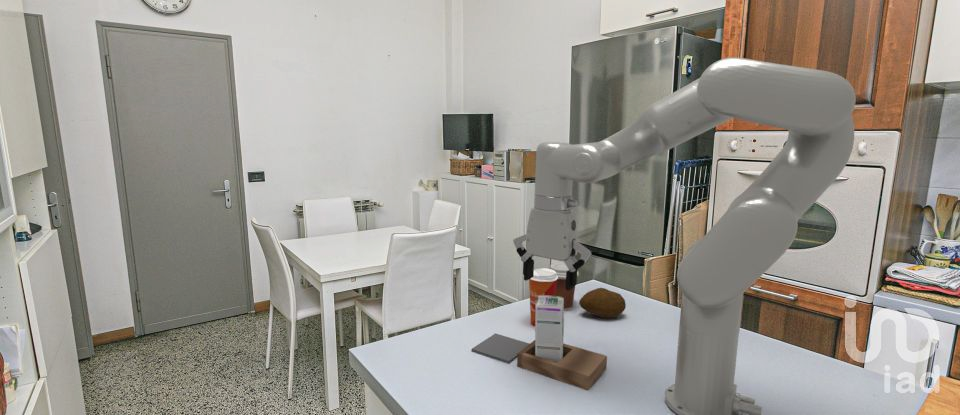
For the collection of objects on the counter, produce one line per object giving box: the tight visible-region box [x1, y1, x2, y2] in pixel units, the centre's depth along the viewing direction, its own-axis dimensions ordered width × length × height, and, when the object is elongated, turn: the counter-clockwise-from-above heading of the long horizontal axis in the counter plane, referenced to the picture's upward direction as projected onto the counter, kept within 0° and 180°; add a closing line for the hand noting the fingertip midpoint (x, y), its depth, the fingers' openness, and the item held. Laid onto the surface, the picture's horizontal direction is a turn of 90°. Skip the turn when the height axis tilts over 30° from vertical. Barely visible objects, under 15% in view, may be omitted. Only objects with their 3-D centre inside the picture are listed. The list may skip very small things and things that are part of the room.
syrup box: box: [534, 296, 565, 363], centre depth 99 cm, size 6×6×14 cm
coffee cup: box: [548, 262, 580, 312], centre depth 132 cm, size 9×9×12 cm
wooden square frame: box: [516, 339, 608, 391], centre depth 98 cm, size 16×10×3 cm, turn 55°
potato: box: [578, 287, 627, 319], centre depth 126 cm, size 8×12×8 cm, turn 96°
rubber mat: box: [471, 332, 531, 364], centre depth 107 cm, size 10×10×1 cm
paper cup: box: [528, 267, 558, 327], centre depth 120 cm, size 8×8×14 cm
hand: (548, 283), depth 98 cm, fingers open, 9 cm apart
